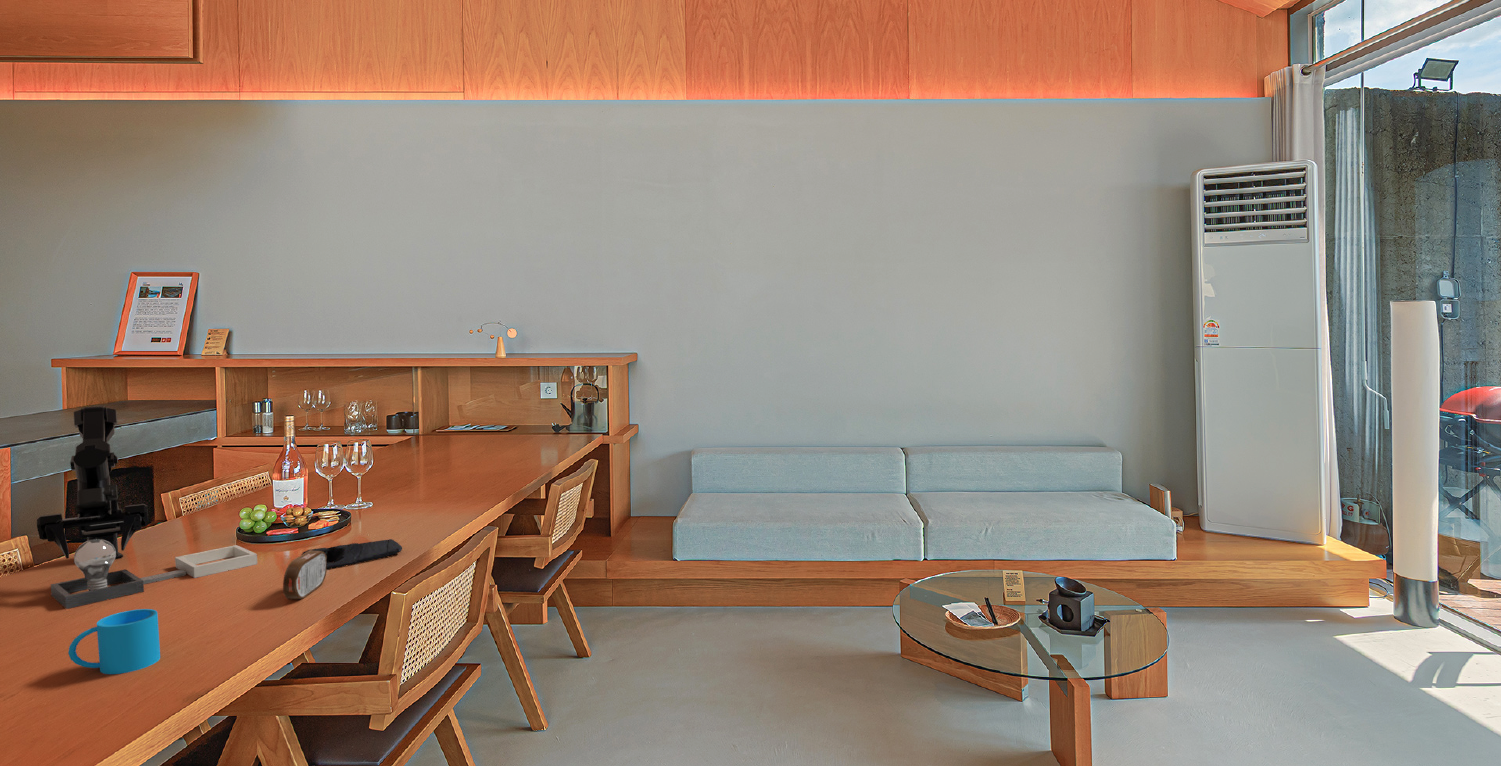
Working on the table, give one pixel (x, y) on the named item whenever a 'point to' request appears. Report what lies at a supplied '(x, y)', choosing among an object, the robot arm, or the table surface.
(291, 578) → the tin
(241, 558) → the collar
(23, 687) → the table surface
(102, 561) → the light bulb
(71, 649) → the mug
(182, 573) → the rail strip
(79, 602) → the collar
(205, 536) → the table surface
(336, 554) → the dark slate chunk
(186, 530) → the table surface
